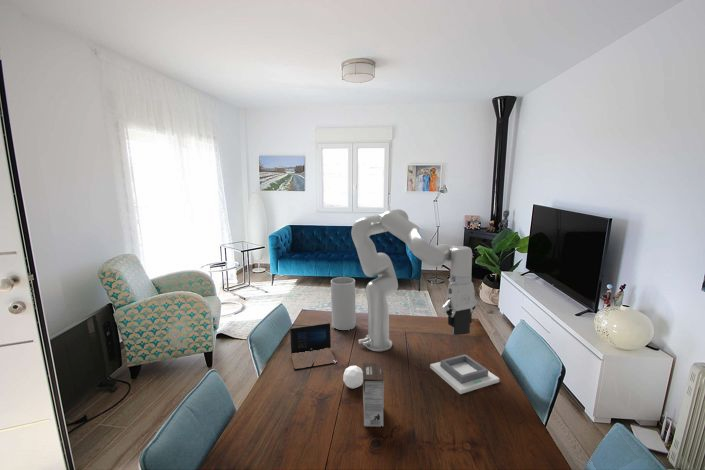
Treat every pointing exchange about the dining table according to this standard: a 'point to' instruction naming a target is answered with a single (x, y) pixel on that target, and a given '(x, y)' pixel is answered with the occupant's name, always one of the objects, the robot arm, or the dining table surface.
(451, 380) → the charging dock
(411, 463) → the dining table surface
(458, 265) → the robot arm
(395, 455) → the dining table surface
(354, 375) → the geometric ball
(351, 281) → the cylinder vase
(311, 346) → the laptop
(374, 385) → the coffee box
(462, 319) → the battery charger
